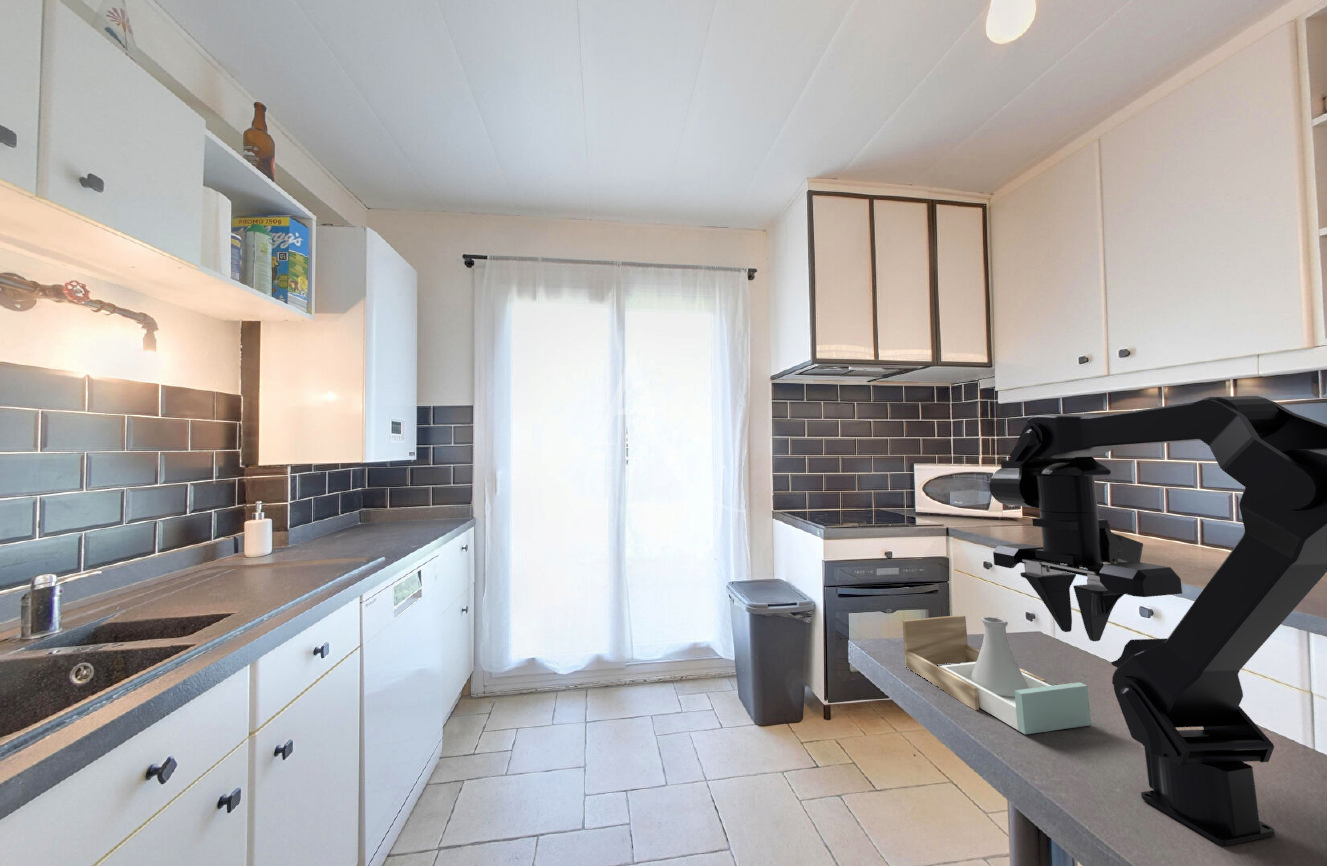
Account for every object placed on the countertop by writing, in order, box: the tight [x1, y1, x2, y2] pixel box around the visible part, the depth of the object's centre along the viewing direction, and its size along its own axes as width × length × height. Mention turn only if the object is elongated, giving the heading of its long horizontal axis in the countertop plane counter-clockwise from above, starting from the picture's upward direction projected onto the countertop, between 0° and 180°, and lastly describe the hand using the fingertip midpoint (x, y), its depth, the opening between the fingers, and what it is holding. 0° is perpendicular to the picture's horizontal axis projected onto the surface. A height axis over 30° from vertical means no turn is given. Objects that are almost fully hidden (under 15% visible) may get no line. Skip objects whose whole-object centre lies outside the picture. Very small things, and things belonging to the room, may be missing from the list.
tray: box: [938, 662, 1092, 735], centre depth 68 cm, size 15×10×5 cm
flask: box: [970, 616, 1029, 697], centre depth 71 cm, size 7×7×10 cm
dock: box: [901, 614, 1046, 711], centre depth 75 cm, size 15×12×8 cm
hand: (1080, 636), depth 59 cm, fingers open, 3 cm apart
